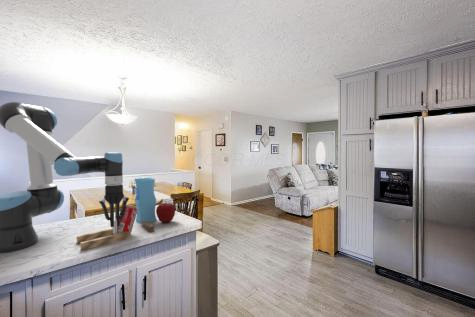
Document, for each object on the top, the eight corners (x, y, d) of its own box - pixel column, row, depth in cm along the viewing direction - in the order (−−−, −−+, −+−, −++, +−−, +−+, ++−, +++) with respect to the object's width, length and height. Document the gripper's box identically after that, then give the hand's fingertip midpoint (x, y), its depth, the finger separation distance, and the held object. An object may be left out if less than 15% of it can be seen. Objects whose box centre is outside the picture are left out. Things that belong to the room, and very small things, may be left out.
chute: (81, 250, 95) (81, 243, 95) (76, 242, 104) (76, 236, 104) (131, 237, 109) (130, 231, 109) (123, 231, 117) (123, 225, 117)
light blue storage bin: (135, 219, 137) (134, 178, 136) (151, 216, 143) (150, 177, 142) (139, 223, 130) (138, 180, 129) (156, 220, 136) (155, 179, 135)
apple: (160, 226, 125) (159, 205, 124) (153, 221, 133) (153, 202, 132) (178, 222, 132) (178, 202, 131) (171, 218, 140) (171, 199, 139)
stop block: (150, 232, 115) (150, 226, 115) (141, 226, 124) (141, 221, 124) (154, 231, 117) (154, 226, 117) (145, 226, 125) (145, 220, 125)
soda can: (127, 235, 109) (136, 208, 112) (112, 232, 108) (121, 205, 111) (132, 233, 116) (140, 208, 119) (118, 231, 115) (126, 205, 118)
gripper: (100, 186, 101) (101, 238, 102) (130, 184, 110) (131, 232, 110) (97, 185, 107) (97, 234, 107) (125, 182, 115) (126, 228, 116)
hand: (114, 233), depth 109 cm, fingers closed
